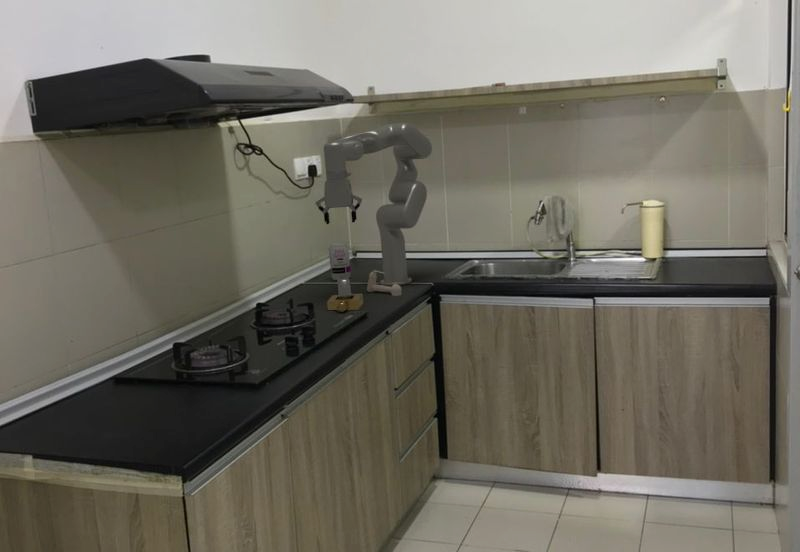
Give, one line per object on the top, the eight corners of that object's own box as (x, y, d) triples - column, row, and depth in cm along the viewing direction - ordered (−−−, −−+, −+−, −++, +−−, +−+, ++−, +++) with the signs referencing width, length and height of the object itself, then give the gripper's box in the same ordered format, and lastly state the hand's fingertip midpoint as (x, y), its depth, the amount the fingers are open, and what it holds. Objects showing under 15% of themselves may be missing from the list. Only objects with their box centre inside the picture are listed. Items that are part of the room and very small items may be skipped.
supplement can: (344, 276, 366) (341, 242, 364) (354, 278, 360) (351, 243, 357) (328, 279, 362) (324, 244, 359) (338, 281, 355) (335, 246, 352)
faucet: (394, 308, 317) (397, 284, 313) (364, 289, 328) (367, 266, 324) (402, 306, 319) (405, 282, 315) (372, 287, 331) (375, 264, 327)
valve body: (335, 302, 313) (334, 293, 312) (364, 300, 311) (363, 291, 311) (326, 314, 294) (325, 304, 293) (357, 312, 293) (356, 302, 292)
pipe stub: (341, 306, 305) (338, 278, 303) (353, 305, 305) (350, 278, 303) (339, 308, 301) (336, 281, 299) (351, 308, 300) (348, 280, 299)
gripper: (361, 174, 314) (365, 220, 317) (315, 177, 316) (319, 223, 319) (358, 175, 307) (362, 222, 310) (311, 178, 309) (315, 225, 312)
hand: (340, 222), depth 315 cm, fingers open, 9 cm apart
